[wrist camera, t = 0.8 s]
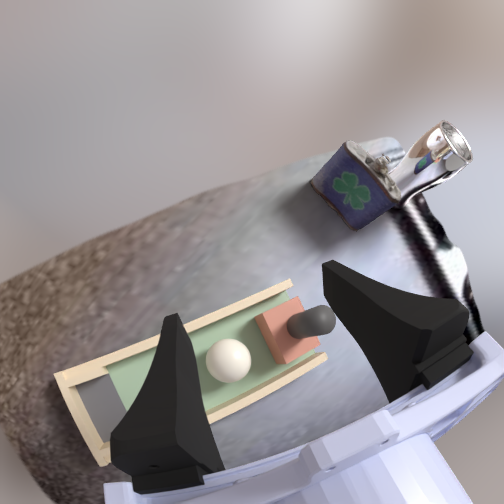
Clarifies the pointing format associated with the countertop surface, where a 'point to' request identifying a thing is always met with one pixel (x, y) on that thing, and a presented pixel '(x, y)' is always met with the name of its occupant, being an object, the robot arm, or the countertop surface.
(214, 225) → the countertop surface
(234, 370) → the ball
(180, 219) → the countertop surface
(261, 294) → the pitch
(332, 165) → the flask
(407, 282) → the countertop surface
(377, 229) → the countertop surface
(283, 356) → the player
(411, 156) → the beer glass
